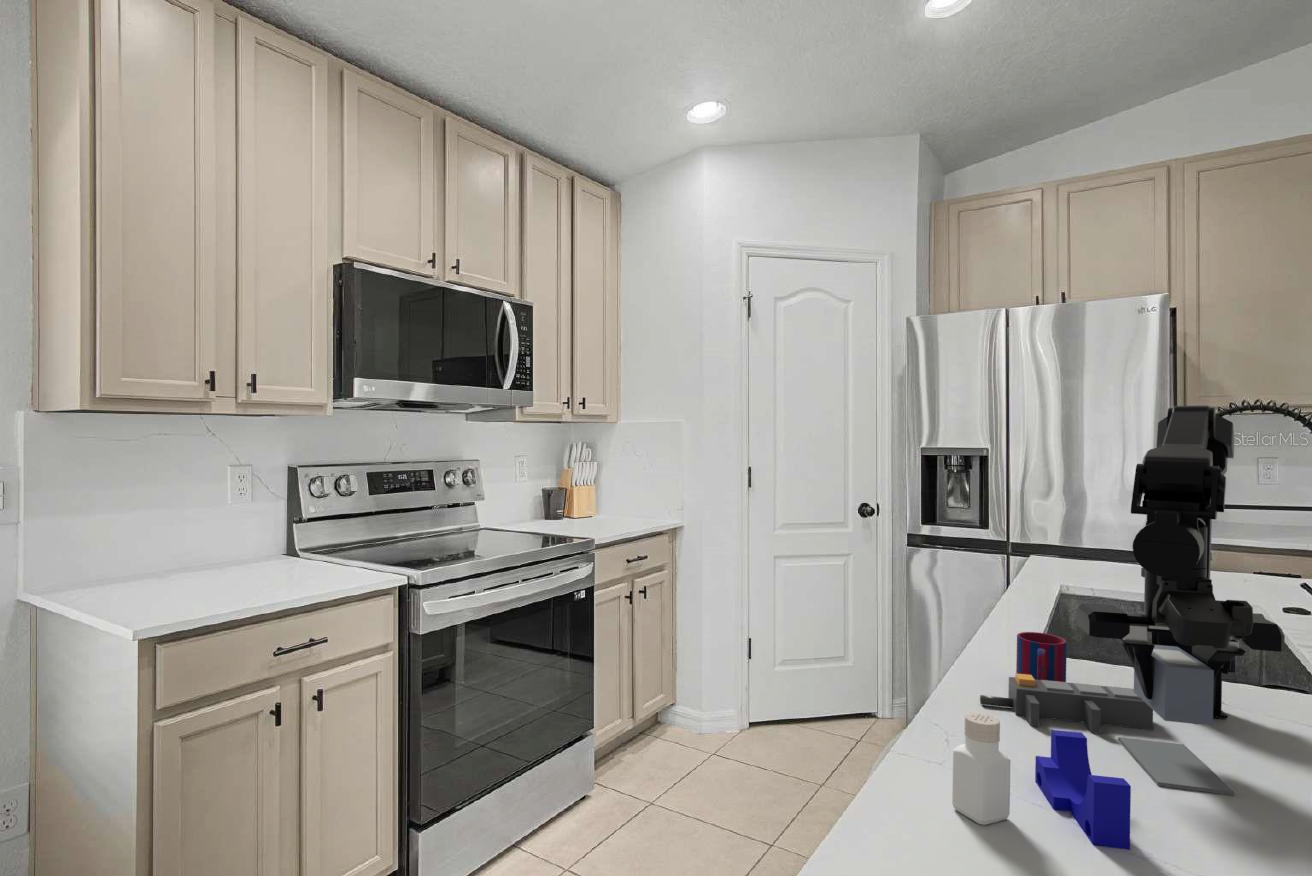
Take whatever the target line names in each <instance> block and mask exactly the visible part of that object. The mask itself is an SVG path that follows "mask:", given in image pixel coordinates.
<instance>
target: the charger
mask: <svg viewBox="0 0 1312 876" xmlns="http://www.w3.org/2000/svg"><path fill="white" fill-rule="evenodd" d="M1151 661H1152V676H1153V695H1152V699H1151V700H1150V699H1147V698H1146V697H1145V695H1144V693H1143V690H1142V688H1141V685H1140V683H1139V680H1138V678H1137V675H1136V673H1135V670H1134V669H1133V671H1134V672H1133V689H1134V693H1135V694H1136V695H1137V696H1138V697H1139V698H1141V699H1142V700H1143V701H1144V702H1145V703H1146V704H1147V705H1148V706H1149V707H1150V708H1151V709H1153V712H1155V714H1157V715H1158V716H1159V717H1160V718H1161V719H1162V720H1163V721H1164V722H1171V723H1172V722H1174V723H1182V724H1183V723H1185V724H1193V725H1194V724H1195V725H1202V726H1203V725H1204V726H1211V727H1212V726H1214V725H1213V724H1214V717H1213V689H1214V670H1212V669H1211V668H1209V667H1208V666H1206V665H1205V664H1203V663H1202V662H1200V661H1199V660H1197V659H1196V658H1194V657H1192V656H1191V655H1189V654H1188V653H1186V652H1185V651H1183V650H1182V649H1180V648H1179V647H1175V646H1162V645H1155V646H1154V649H1153V652H1152V655H1151Z"/></svg>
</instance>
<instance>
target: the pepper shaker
mask: <svg viewBox="0 0 1312 876" xmlns="http://www.w3.org/2000/svg"><path fill="white" fill-rule="evenodd" d="M1000 730H1001V721H1000V719H998V717H995V716H994V715H991V714H988V713H985V712H979V711H978V712H977V711H975V712H968V713H965V714H964V731H963V732H964V733H963V735H964V743H962V744H960V745H958V746H956V747H955V748H954V749H953V751H952V752H953V753H952V794H951V795H952V802H951V803H952V807H953V808H954V809H955V810H956V811H958V812H959V813H960V814H962V815H964V816H966V817H967V818H969V819H971V820H972V821H974V823H975V822H976V823H977V824H978V825H985V826H986V825H989V824H993V823H997V822H1000V821H1004V820H1007V819H1008V818H1009V816H1010V813H1011V811H1010V810H1011V809H1010V807H1011V763H1012V762H1011V759H1010V758H1009V756H1008V754H1006V753H1004V752H1003V751H1002V750H1000V749H999V747H1000V745H999V744H1000V741H1001V737H1000V736H1001V734H1000Z"/></svg>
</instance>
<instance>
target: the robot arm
mask: <svg viewBox="0 0 1312 876" xmlns="http://www.w3.org/2000/svg"><path fill="white" fill-rule="evenodd" d="M1166 415H1167V416H1166V417H1164V418H1163V419H1161V420H1160V421H1159V422H1157V431H1156V432H1157V433H1156V447H1155V448H1150V449H1148V451H1146V453H1145V454H1144V457H1143V460H1142V463H1137V464H1136V466H1135V471H1134V472H1135V473H1134V481H1133V488H1132V496H1131V497H1132V498H1131V505H1130V514H1132V515H1133V514H1134V515H1143V516H1144V515H1145V516H1146V522H1145V526H1144V527H1143V528H1141V529H1139V531H1138V532H1137V534H1136V535H1135V536H1134V539H1133V541H1132V551H1133V556H1134V558H1135V560H1136V561H1137V563H1138V564H1139V566H1141V568H1140V570H1141V571H1140V572H1141V573H1140V574H1141V575H1140V577H1143V578H1144V599H1143V601H1141V602H1140V611H1141V612H1142V613H1143V614H1135V613H1127V612H1125V611H1124V610H1122V609H1121V608H1119V607H1117V606H1116V605H1115V604H1107V603H1103V604H1102V603H1089V602H1081V603H1080V605H1079V606H1078V607H1077V608H1076V611H1075V625H1076V626H1078V627H1079V628H1080V629H1081V630H1082V631H1083V632H1085V634H1086V635H1088V636H1090V637H1094V638H1103V639H1113V640H1116V641H1117V642H1118V643H1119V644H1121V645H1122V647H1123V649H1124V651H1125V652H1126V654H1127V656H1128V658H1129V661H1130V663H1131V665H1132V668H1133V671H1134V670H1135V673H1136V675H1137V678H1138V680H1139V683H1140V685H1141V688H1142V690H1143V693H1144V695H1145V697H1146V698H1147V699H1150V700H1151V699H1152V695H1153V676H1152V661H1151V655H1152V652H1153V649H1154V646H1155V645H1162V646H1175V647H1179V648H1180V649H1182V650H1183V651H1185V652H1186V653H1188V654H1189V655H1191V656H1192V657H1194V658H1196V659H1197V660H1199V661H1200V662H1202V663H1203V664H1205V665H1206V666H1208V667H1209V668H1211V669H1212V670H1214V689H1213V718H1217V719H1220V718H1221V719H1228V718H1229V716H1228V714H1227V713H1226V712H1225V711H1224V710H1222V705H1223V703H1222V701H1223V700H1222V699H1223V698H1222V697H1223V694H1222V693H1223V674H1224V675H1229V674H1230V673H1236V667H1237V666H1236V661H1237V660H1236V658H1237V656H1238V657H1240V656H1241V657H1242V656H1245V655H1246V653H1247V651H1246V650H1244V649H1243V648H1241V647H1240V642H1241V641H1242V642H1243V643H1244V644H1245V645H1246V646H1247V647H1248V648H1249V649H1251V650H1255V651H1268V652H1280V653H1282V652H1284V651H1285V643H1286V642H1285V641H1286V640H1285V638H1286V636H1285V634H1284V632H1283V629H1282V628H1281V626H1279V625H1278V624H1277V623H1275V622H1273V621H1271V620H1269V619H1266V618H1264V617H1262V616H1259V615H1257V614H1255V613H1254V610H1253V606H1252V605H1251V604H1250V602H1248V601H1247V600H1239V599H1237V600H1236V599H1225V600H1217V599H1216V597H1215V595H1214V590H1213V589H1214V586H1213V584H1212V579H1211V565H1212V564H1211V562H1212V561H1211V560H1212V559H1211V557H1212V555H1211V554H1212V523H1213V520H1216V519H1218V518H1217V516H1218V513H1225V501H1226V487H1227V477H1226V475H1225V474H1226V473H1227V471H1228V460H1229V459H1234V455H1235V431H1234V429H1235V428H1234V423H1233V421H1230V420H1228V419H1226V418H1224V417H1223V416H1221V415H1219V414H1217V413H1216V407H1214V406H1212V407H1211V406H1209V405H1175V406H1173V407H1168V409H1167V414H1166ZM1142 498H1143V500H1142ZM1148 633H1151V641H1150V640H1148Z"/></svg>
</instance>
